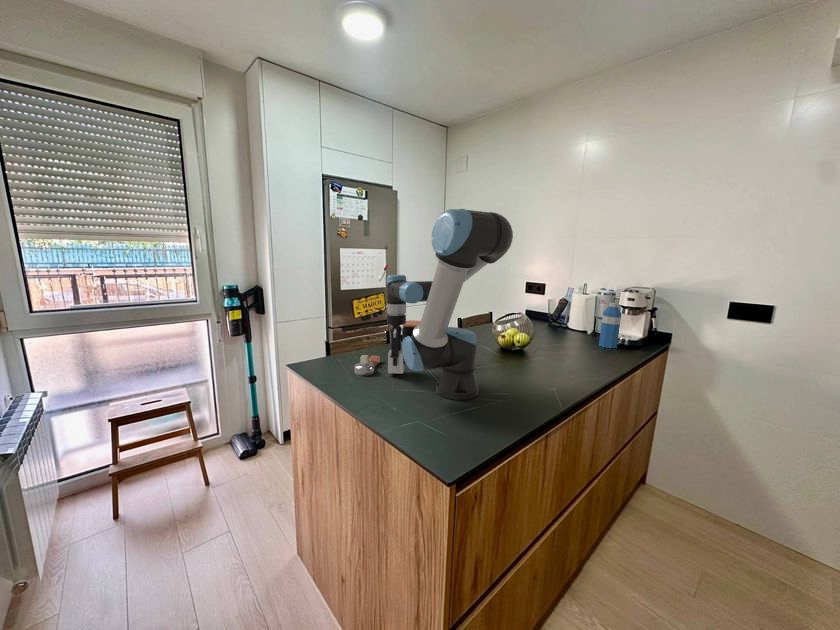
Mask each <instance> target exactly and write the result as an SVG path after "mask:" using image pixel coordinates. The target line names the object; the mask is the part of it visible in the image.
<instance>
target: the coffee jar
mask: <svg viewBox="0 0 840 630" xmlns="http://www.w3.org/2000/svg"><path fill="white" fill-rule="evenodd" d="M420 323H421V320H406V323H405V324H404V325H402V327H401V328H402V331H401V343H402V342H403V339H404V338H405V337H407V336H412V333H413V330H414V328H415V327H416V326H417V325H420ZM404 364H406V362H405V360H404Z"/></svg>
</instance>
